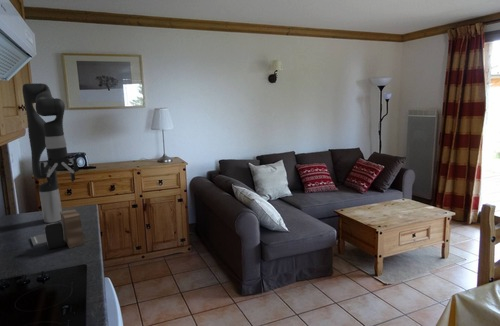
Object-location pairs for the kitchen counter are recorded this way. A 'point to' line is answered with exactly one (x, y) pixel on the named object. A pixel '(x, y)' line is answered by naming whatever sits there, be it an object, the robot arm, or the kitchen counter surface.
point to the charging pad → (39, 240)
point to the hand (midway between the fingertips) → (61, 183)
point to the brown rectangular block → (72, 228)
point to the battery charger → (54, 235)
